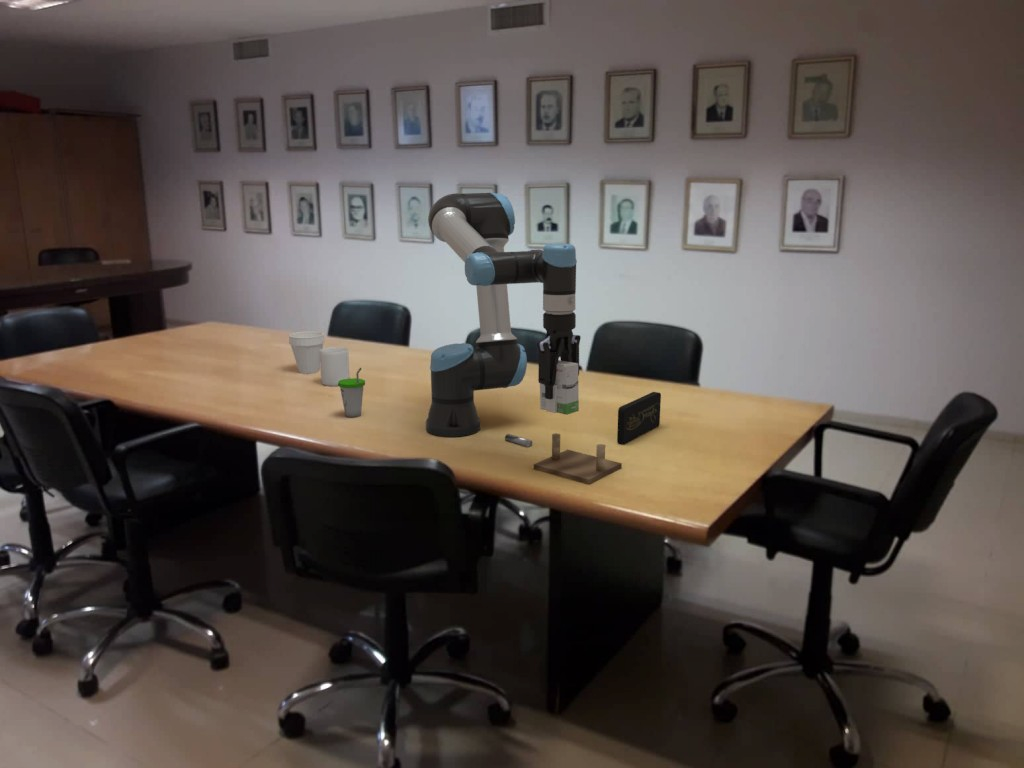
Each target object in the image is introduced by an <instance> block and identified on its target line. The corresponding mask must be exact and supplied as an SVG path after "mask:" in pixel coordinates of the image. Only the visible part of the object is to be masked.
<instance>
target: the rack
mask: <svg viewBox="0 0 1024 768" xmlns="http://www.w3.org/2000/svg"><path fill="white" fill-rule="evenodd" d="M595 453H596V456H594V455H590V454H587V453H582V452H579V451H575V450H571V449H565V450H564V451H561V434H560V433H556V432H555V433H552V434H551V456H549V457H546V458H545V459H543V460H540V461H538V462H536V463H533V470H535V469H536V470H537V471H539V472H543V473H545V474H546V473H547V474H550V475H554V476H557V477H560V476H561V478H564V479H568V480H571V481H575V482H579V483H582V484H585V485H591V484H592V483H594V482H597V481H598V480H601V479H603V478H604V477H606V476H607V477H608V475H610V474H613V473H614V472H616V471H618V470H620V469H622V465H623V464H622V463H621V462H618V461H615V460H611V459H607V458H606V445H605V444H603V443H602V444H601V443H598V444H596V452H595Z"/></svg>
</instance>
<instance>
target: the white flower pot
mask: <svg viewBox="0 0 1024 768" xmlns="http://www.w3.org/2000/svg"><path fill="white" fill-rule="evenodd" d="M288 338H289V342H288V344H289V345H290V347H291V350H292V353H293V356H294V357H293V358H294V360H295V363H296V366H297V368H298V369H297V370H298V372H299V374H303V375H305V374H306V375H308V374H316V373H318V372H319V370H320V366H321V365H320V349H323V348H324V347H323V346H324V343H325V333H324V332H322V331H321V332H320V331H316V330H315V331H313V330H311V331H309V330H306V331H297V332H293V333H289V335H288Z"/></svg>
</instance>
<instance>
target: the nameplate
mask: <svg viewBox="0 0 1024 768" xmlns="http://www.w3.org/2000/svg"><path fill="white" fill-rule="evenodd" d="M661 400H662V395H661V392H658V391H651V392H650V393H647V394H646V395H643V396H641V397H638V398H637V399H635V400H632V401H630V402H628V403H625V404H622V405H621V406H620V407H619V408H618V411H617V432H616V434H617V435H616V437H617V438H616V439H617V440H616V441H617V443H618V444H621V445H627V444H629V443H631V442H632V441H634V440H636V439H637V438H640V437H642V436H643V435H646V434H647V433H649V432H651V431H653V430H655V429H657V428H659V426H660V424H661Z"/></svg>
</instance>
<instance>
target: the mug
mask: <svg viewBox="0 0 1024 768" xmlns="http://www.w3.org/2000/svg"><path fill="white" fill-rule="evenodd" d="M349 360H350V359H349V348H347V347H345V346H331V347H323V348H322V349H320V365H319V366H320V378H321V379H320V380H321V384H322V385H323V386H326V387H339V386H338V382H339V381H340V380H343V379H351V378H350V361H349Z"/></svg>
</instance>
